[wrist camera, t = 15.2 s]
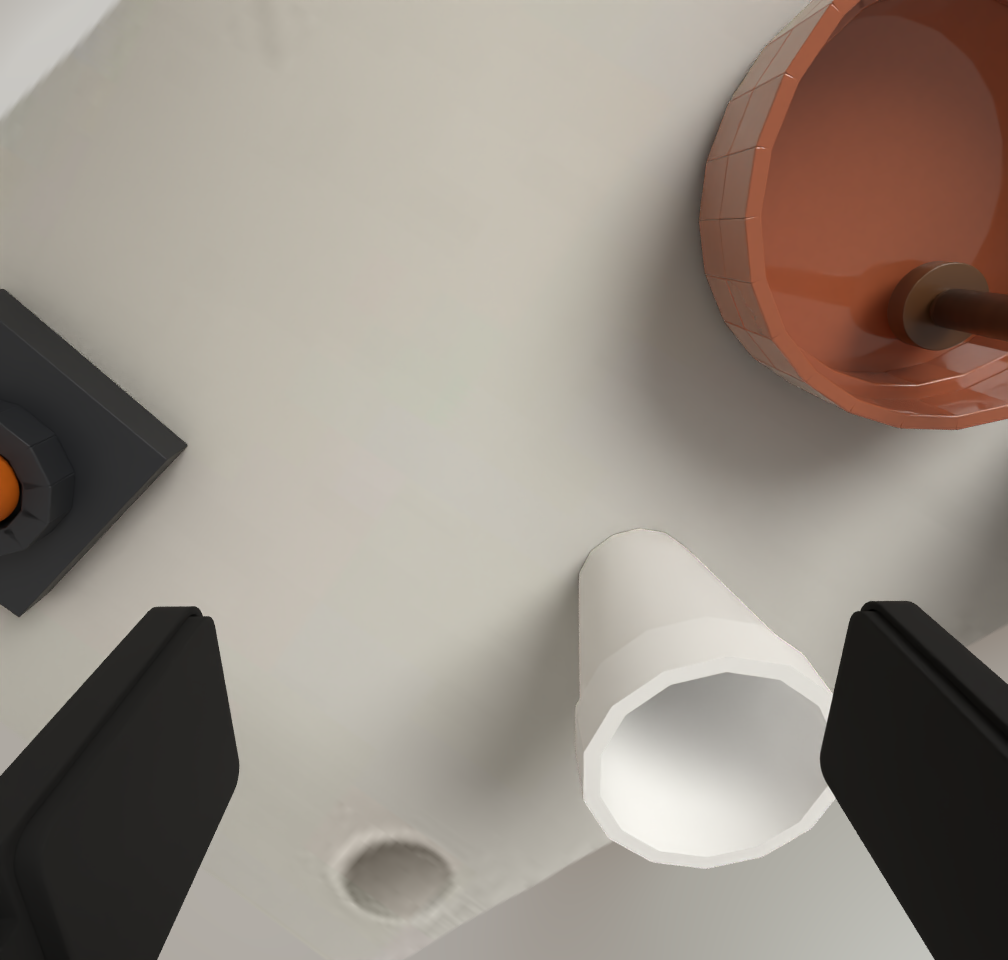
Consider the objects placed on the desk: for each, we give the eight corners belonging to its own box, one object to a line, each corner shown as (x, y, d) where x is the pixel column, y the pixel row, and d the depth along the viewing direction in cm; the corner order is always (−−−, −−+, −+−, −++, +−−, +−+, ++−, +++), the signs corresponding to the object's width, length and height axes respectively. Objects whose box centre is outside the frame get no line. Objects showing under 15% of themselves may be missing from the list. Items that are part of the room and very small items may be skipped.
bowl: (615, 189, 28) (647, 178, 22) (975, -159, 24) (1123, -278, 18) (833, 464, 33) (905, 512, 27) (1164, 210, 29) (1328, 205, 23)
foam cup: (716, 652, 37) (829, 863, 24) (551, 660, 37) (582, 874, 24) (731, 496, 33) (871, 650, 21) (549, 504, 33) (584, 662, 21)
